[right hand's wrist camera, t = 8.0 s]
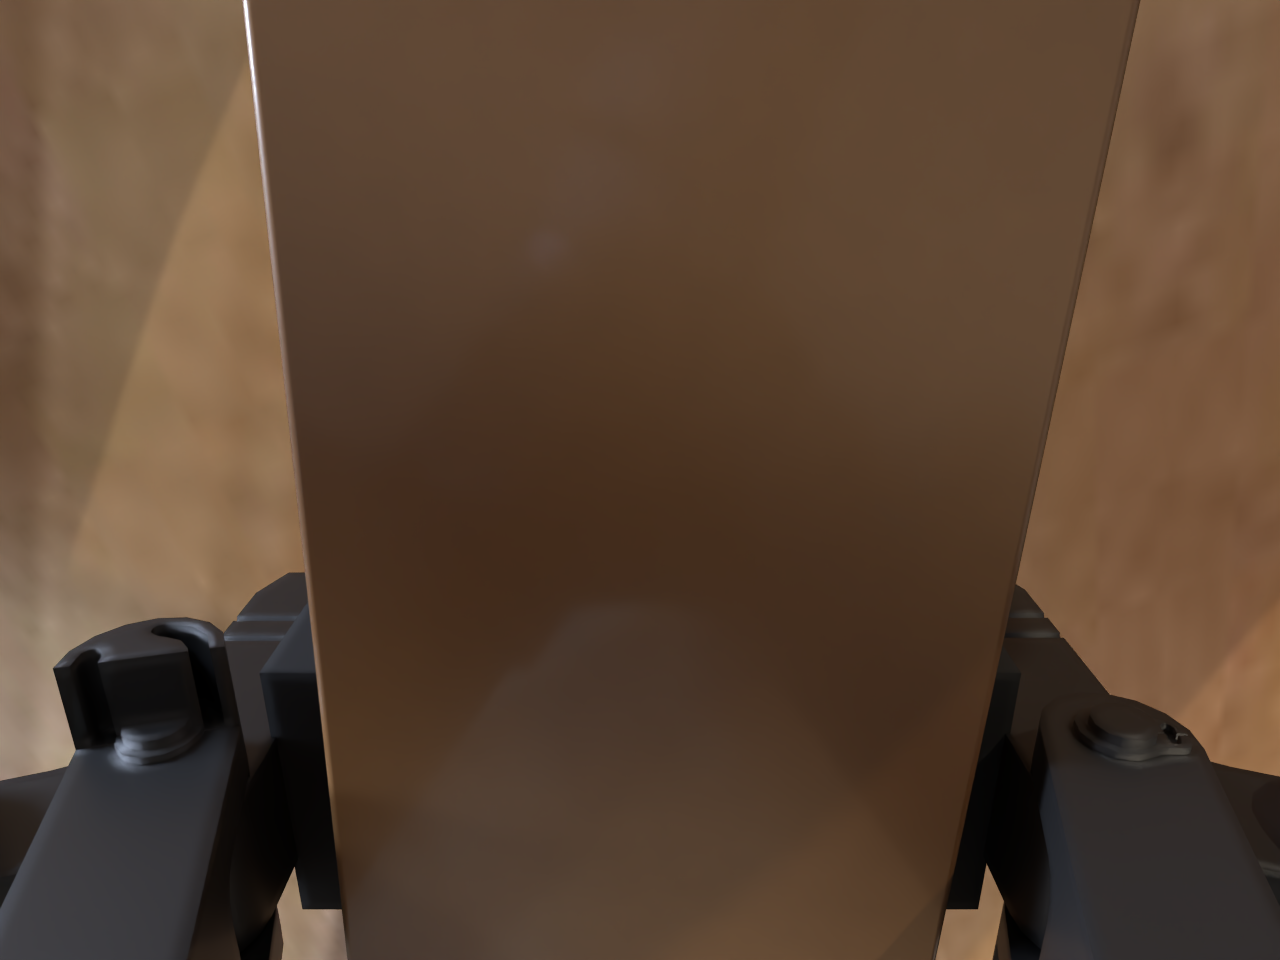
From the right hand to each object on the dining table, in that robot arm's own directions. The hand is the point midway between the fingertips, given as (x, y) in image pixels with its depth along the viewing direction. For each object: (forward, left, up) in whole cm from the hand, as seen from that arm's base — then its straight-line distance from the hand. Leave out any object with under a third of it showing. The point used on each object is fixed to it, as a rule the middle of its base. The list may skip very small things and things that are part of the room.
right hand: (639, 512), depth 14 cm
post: (+13, -23, -1) cm, 26 cm away
